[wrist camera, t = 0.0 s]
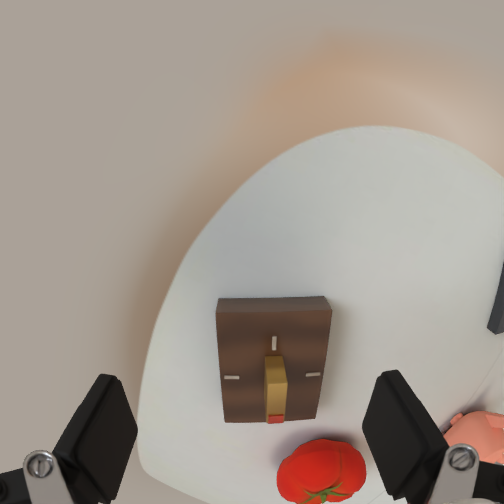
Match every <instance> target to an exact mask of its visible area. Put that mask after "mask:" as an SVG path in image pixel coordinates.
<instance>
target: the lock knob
mask: <svg viewBox="0 0 504 504" xmlns="http://www.w3.org/2000/svg"><path fill="white" fill-rule="evenodd" d="M287 386H288V382H287V377H286V372H285V366H284V361H283V356H265V378H264V400H265V412H266V423H268V424H272V423H283V422H284V418H285V408H286V397H287Z"/></svg>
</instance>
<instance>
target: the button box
mask: <svg viewBox="0 0 504 504" xmlns="http://www.w3.org/2000/svg"><path fill="white" fill-rule="evenodd" d="M487 328H488V329H489V330H490V331H492V332H493V333H494V334H495V335H496V334H499V333H503V332H504V264H503V269H502V274H501V279H500V283H499V287H498V291H497V295H496V299H495V303H494V306H493V310H492V313H491V317H490V320H489V323H488V326H487Z"/></svg>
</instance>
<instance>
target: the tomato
mask: <svg viewBox="0 0 504 504" xmlns="http://www.w3.org/2000/svg"><path fill="white" fill-rule="evenodd" d="M365 479H366V465H365V461H364V459H363V457H362V455H361V454H360V452H359V451H357V450H356V449H355V448H354V447H352V446H351V445H350V444H349V443H347V442H340V441H331V440H327V439H318V440H312V441H309V442H307V443H305V444H302V445H300V446H299V447H298V448H297V449H296V450H295V451H294V452H293V453H292V455H290V456H288V457H287V458H286V459H284V460H283V461H282V463H281V465H280V467H279V469H278V472H277V487H278V490H279V493H280V494H281V496H282V497H283V498H285V499H286V500H287V501H290V502H295V503H296V504H321V503H322V504H323V503H324V502H325V501H329V502H340V501H343V500H345V499H348V498H350V497H352V495H353V494H354V492H356V491H359V490H360V488H361V487H362V486H363V484H364V483H365Z"/></svg>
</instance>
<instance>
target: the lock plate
mask: <svg viewBox="0 0 504 504" xmlns="http://www.w3.org/2000/svg"><path fill="white" fill-rule="evenodd" d="M331 317H332V309H331V307H330V305H329V304H328V302H327V300H326V299H325V297H324V296H318V297H289V298H229V299H218V303H217V308H216V328H217V342H218V355H219V367H220V379H221V390H222V400H223V410H224V420H225V422H226V423H252V422H266V412H265V400H264V378H265V356H283V361H284V366H285V372H286V377H287V382H288V386H287V397H286V408H285V418H284V421H294V420H306V419H315V417H316V412H317V407H318V402H319V397H320V391H321V385H322V379H323V373H324V367H325V361H326V354H327V347H328V340H329V333H330V325H331Z"/></svg>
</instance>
